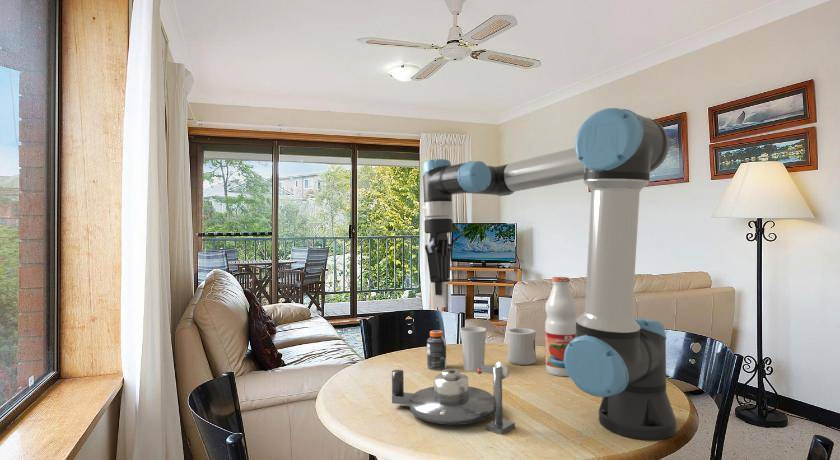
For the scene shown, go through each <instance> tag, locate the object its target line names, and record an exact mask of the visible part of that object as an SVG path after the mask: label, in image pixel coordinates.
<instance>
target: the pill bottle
mask: <svg viewBox="0 0 840 460" xmlns="http://www.w3.org/2000/svg"><path fill="white" fill-rule="evenodd" d="M443 335H444V333H443V331H442V330H440V329H439V330H435V329H434V330H431V331H429V337H428V338H427V339H426V352H427V353H426V356H427V357H426V358H427V359H426V362H427V364H426V365H427V368H428V369H429V370H434V371H439V370H441V371H442V370H445V369H447V339H446V338H445V337H443Z"/></svg>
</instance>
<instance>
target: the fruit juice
mask: <svg viewBox="0 0 840 460" xmlns="http://www.w3.org/2000/svg"><path fill="white" fill-rule="evenodd" d="M551 283H552V287H551V288H552V289H550V294H549V296H548V299H547V300H546V301H545V304H544V305H545V306H544V310H545V314H546V319H545V322H544V343H545V348H544V350H545V371H546V372H547V373H548V374H550V375H553V376H556V377H557V376H558V377H569V375H568V373H567V371H566V368H565V364H564V352H565V349H566V347H567V345H568V344H569V343H570V342H571V341H572V340H573V339H574V338H575V334H576V319H577V318H576V317H577V313H578V304H577V303H576V301H575V298H574V297H573V295H572V292H571V289H570V287H569V286H570V285H569V284H570V278H569V277H567V276H553V277H552V278H551Z"/></svg>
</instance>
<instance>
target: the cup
mask: <svg viewBox="0 0 840 460" xmlns="http://www.w3.org/2000/svg"><path fill="white" fill-rule="evenodd" d="M459 331H460V339H461V350H462V360H463V370H465V371H468V372H477V369H478V368H481V366H482V365H485V355H486V354H485V352H486V340H487V339H486V338H487V337H486V336H487V328H486V327H482V326H464V327H461V328H459Z"/></svg>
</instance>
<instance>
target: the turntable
mask: <svg viewBox="0 0 840 460" xmlns="http://www.w3.org/2000/svg"><path fill="white" fill-rule="evenodd" d="M404 385H405V384H404V370H403V369H394V370H392V371H391V391H392V392H391V393H392V394H391V395H392V396H391V404H396V405H405V406H409V411H410V412H411V414H412V415H413V416H414V417H417V419H420V420H423V421H426V422H430V423H434V424H441V425H467V424H473V423H478V422H482V421H483V420H487V419H488V418H490V417H492V416H494V394H492V393H490V392H488V391H486V390H484V389H481V388H478V387H473V386H469V385H468V388H469V401H468V402H467V403H465V404H462V405H457V406H447V405H441V404H438V403H437V402H435V400H434V386H430V387H426V388H422V389H420V390H417V391H415V392H414V393H412V392H406V391H404V389H405V388H404Z"/></svg>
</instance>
